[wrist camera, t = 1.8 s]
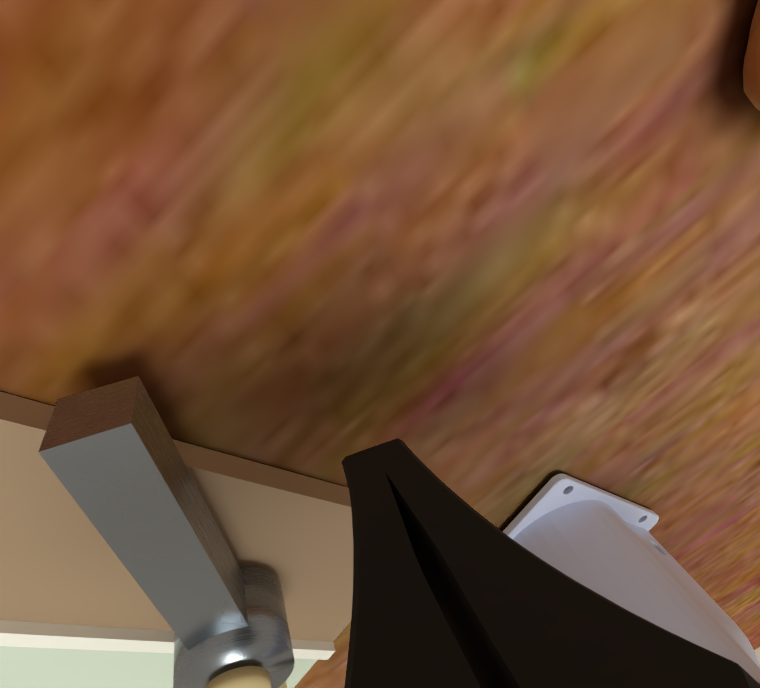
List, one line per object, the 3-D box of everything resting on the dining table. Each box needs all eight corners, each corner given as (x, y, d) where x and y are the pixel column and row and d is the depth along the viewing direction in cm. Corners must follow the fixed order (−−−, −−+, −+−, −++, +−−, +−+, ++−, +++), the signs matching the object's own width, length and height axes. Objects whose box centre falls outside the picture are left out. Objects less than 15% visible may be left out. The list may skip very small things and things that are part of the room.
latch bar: (292, 608, 19) (305, 680, 16) (196, 647, 18) (197, 727, 16) (177, 357, 12) (175, 424, 10) (19, 404, 11) (-20, 485, 9)
